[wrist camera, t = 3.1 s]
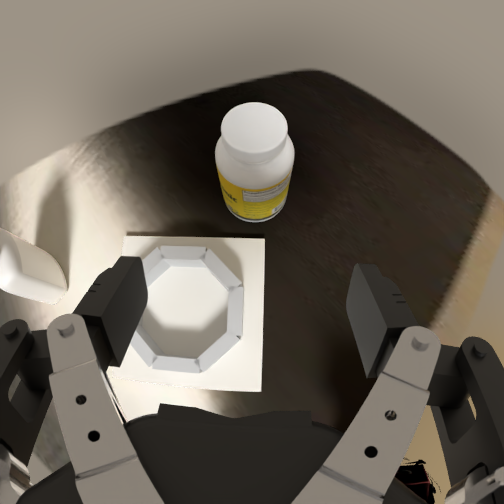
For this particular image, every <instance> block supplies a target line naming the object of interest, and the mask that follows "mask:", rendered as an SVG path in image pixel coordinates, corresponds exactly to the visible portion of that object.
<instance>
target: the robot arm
mask: <svg viewBox="0 0 504 504" xmlns="http://www.w3.org/2000/svg"><path fill="white" fill-rule="evenodd" d="M147 301H148V289H147V284H146V279H145V274H144V268H143V263H142V259H141V258H140V257H138V256H121V257H120V258H119V259H118V260H117V262H116V263H115V265H114V266H113V267H112V268H108V269H107V270H105V271H104V272H102V273H101V274H100V275H99V276H98V277H97V278H96V280H95V281H94V283H93V285H91V287H90V288H89V290H88V292H87V293H86V294H85V295H84V297H83V298H82V300H81V301H80V303H79V304H78V306H77V307H76V309H75V310H74V312H73V313H72V314H65V315H62V316H59V317H58V318H56V319H54V320H53V321H52V322H51V323H50V325H49V326H48V328H47V330H37V331H30V329H29V327H28V325H27V323H26V322H25V321H24V320H21V319H15V320H11V321H9V322H7V323H5V324H4V325H3V326H2V327H1V328H0V504H428V503H426V502H425V501H424V500H423V499H421V498H420V497H419V496H418V495H416V494H415V493H414V492H413V491H411V490H410V489H409V488H408V487H406V486H405V485H404V484H403V483H401V482H400V481H399V480H398V479H397V478H395V477H394V476H395V474H396V472H397V470H398V468H399V466H400V464H401V462H402V460H403V458H404V456H405V454H406V452H407V449H408V447H409V445H410V443H411V441H412V438H413V436H414V434H415V431H416V429H417V427H418V424H419V422H420V419H421V417H422V414H423V412H424V409H425V406H426V405H430V406H431V410H432V413H433V417H434V420H435V423H436V427H437V430H438V434H439V438H440V441H441V445H442V449H443V453H444V457H445V461H446V466H447V470H448V475H449V479H450V484H451V489H450V490H449V491H448V493H447V495H446V498H445V504H504V368H503V366H502V364H501V362H500V360H499V358H498V357H497V355H496V353H495V351H494V349H493V348H492V346H491V345H490V344H489V343H488V342H486V341H485V340H483V339H481V338H478V337H468V338H466V339H465V340H464V341H463V343H462V345H461V346H460V348H459V347H453V346H447V345H442V344H441V343H440V340H439V338H438V337H437V336H436V335H435V334H434V333H433V332H432V331H430V330H428V329H426V328H424V327H420V326H419V325H418V323H417V321H416V319H415V317H414V315H413V314H412V312H411V310H410V308H409V306H408V304H407V303H406V301H405V299H404V297H403V296H402V294H401V292H400V290H399V288H398V287H397V285H396V284H395V283H394V282H392V281H391V280H390V279H389V278H388V277H382V275H381V273H380V271H379V269H378V268H377V266H376V265H375V264H355V266H354V269H353V273H352V278H351V282H350V286H349V291H348V295H347V301H346V309H347V314H348V317H349V320H350V324H351V327H352V330H353V333H354V336H355V340H356V343H357V346H358V349H359V353H360V356H361V360H362V363H363V366H364V370H365V373H366V377H367V378H375V377H378V379H377V381H376V383H375V385H374V386H373V388H372V390H371V392H370V393H369V395H368V397H367V398H366V400H365V402H364V404H363V405H362V407H361V409H360V410H359V412H358V413H357V415H356V417H355V418H354V420H353V421H352V423H351V424H350V426H349V428H348V429H347V431H346V432H345V434H343V433H342V432H340V431H339V430H337V429H335V428H333V427H330V426H328V425H325V424H322V423H318V422H314V421H312V419H311V411H273V412H268V413H263V414H258V415H252V416H247V417H241V418H229V417H225V416H222V415H218V414H215V413H212V412H208V411H205V410H202V409H199V408H196V407H186V406H177V405H169V404H161V403H160V406H159V409H158V413H157V414H150V415H145V416H141V417H138V418H135V419H133V420H130V421H128V420H127V418H126V416H125V414H124V412H123V410H122V408H121V406H120V404H119V401H118V399H117V397H116V394H115V392H114V390H113V387H112V385H111V383H110V380H109V378H108V375H107V373H106V371H107V369H108V366H113V367H119V368H120V366H121V364H122V361H123V359H124V357H125V354H126V352H127V349H128V347H129V345H130V342H131V340H132V337H133V335H134V333H135V330H136V328H137V326H138V324H139V321H140V319H141V317H142V315H143V312H144V310H145V308H146V305H147ZM16 374H18V376H19V377H20V379H21V381H20V383H19V385H18V387H17V389H16V391H15V393H14V395H13V397H12V399H11V402H10V401H9V398H8V390H9V388H10V385H11V384H12V382H13V380H14V378H15V376H16ZM470 396H471V398H472V401H473V404H474V406H475V409H476V420H475V418H474V415H473V412H472V409H471V406H470V404H469V401H468V398H469V397H470ZM52 398H53V400H54V404H55V408H56V412H57V416H58V420H59V423H60V427H61V430H62V434H63V437H64V441H65V444H66V447H67V450H68V453H69V456H70V459H71V461H70V462H69V463H67V464H66V465H64V466H63V467H61V468H60V469H58V470H57V471H55V472H54V473H52V474H51V475H49V476H48V477H46V478H45V479H43V480H41V481H40V482H39V483H37V484H35V485H34V486H33V485H32V483H31V482H30V475H29V471H28V469H27V466H28V463H29V459H30V456H31V454H32V451H33V448H34V445H35V442H36V439H37V436H38V434H39V431H40V428H41V425H42V423H43V420H44V418H45V415H46V412H47V410H48V407H49V405H50V402H51V400H52Z"/></svg>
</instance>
